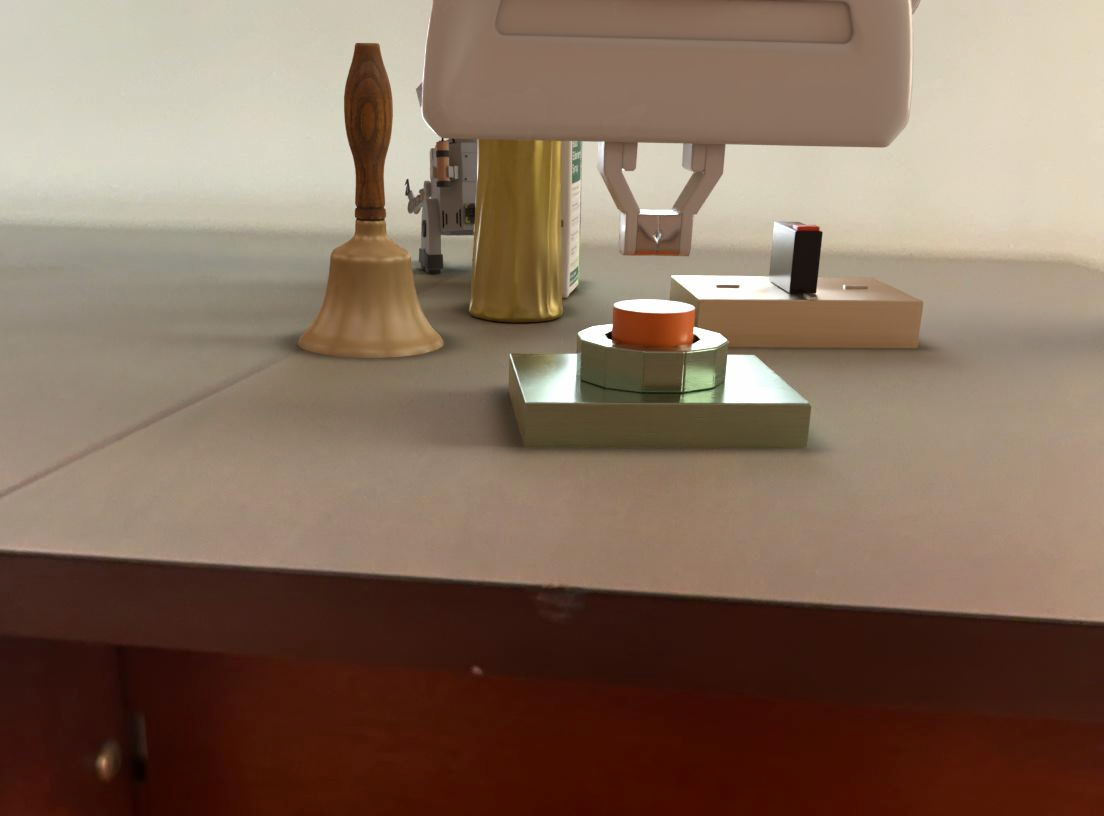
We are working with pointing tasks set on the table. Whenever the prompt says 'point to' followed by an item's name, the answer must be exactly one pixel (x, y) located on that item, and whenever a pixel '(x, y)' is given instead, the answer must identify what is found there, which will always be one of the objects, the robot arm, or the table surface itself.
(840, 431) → the table surface
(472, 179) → the figurine
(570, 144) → the syrup box
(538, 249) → the vase
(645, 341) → the button
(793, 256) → the black battery pack
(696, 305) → the tan slotted base
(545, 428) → the button box
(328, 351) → the hand bell
